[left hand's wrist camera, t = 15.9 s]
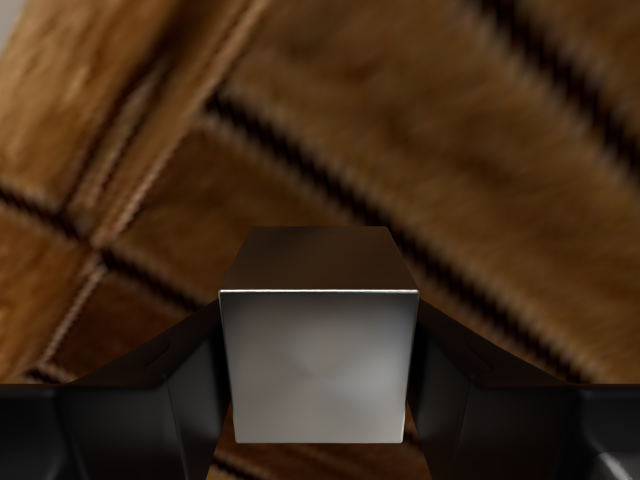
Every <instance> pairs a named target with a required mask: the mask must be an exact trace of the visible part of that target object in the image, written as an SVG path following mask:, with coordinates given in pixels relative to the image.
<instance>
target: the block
mask: <svg viewBox="0 0 640 480" xmlns="http://www.w3.org/2000/svg"><path fill="white" fill-rule="evenodd" d="M419 294H420V291H419V289H418V287H417V285H416V283H415V281H414V279H413V277H412V275H411V273H410V271H409V269H408V267H407V265H406V264H405V262H404V260H403V258H402V256H401V254H400V252H399V250H398V248H397V246H396V244H395V242H394V240H393V238H392V236H391V234H390V232H389V230H388V228H387V227H251V229H250V231H249V233H248V235H247V237H246V239H245V241H244V243H243V245H242V246H241V248H240V250H239V252H238V254H237V256H236V258H235V260H234V262H233V264H232V266H231V268H230V269H229V271H228V273H227V275H226V277H225V279H224V281H223V283H222V285H221V287H220V289H219V291H218V295H219V304H220V312H221V321H222V329H223V338H224V346H225V354H226V363H227V371H228V380H229V388H230V397H231V405H232V413H233V422H234V430H235V439H236V442H237V443H401V442H402V440H403V431H404V423H405V414H406V406H407V397H408V388H409V380H410V371H411V363H412V354H413V346H414V337H415V328H416V320H417V311H418V303H419Z"/></svg>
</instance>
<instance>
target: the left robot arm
mask: <svg viewBox="0 0 640 480" xmlns="http://www.w3.org/2000/svg"><path fill="white" fill-rule="evenodd" d="M407 400H408V404H409V407H410V410H411V413H412V416H413V420H414V423H415V426H416V429H417V432H418V436H419V439H420V442H421V445H422V449H423V452H424V455H425V458H426V461H427V465H428V468H429V471H430V474H431V478H432V480H640V384H571V383H568V382H565V381H563V380H561V379H559V378H556V377H555V376H553V375H551V374H549V373H547V372H545V371H543V370H541V369H539V368H537V367H536V366H534V365H532V364H530V363H528V362H526V361H524V360H522V359H520V358H518V357H517V356H515V355H513V354H511V353H509V352H507V351H505V350H504V349H502V348H500V347H498V346H496V345H495V344H493V343H491V342H490V341H488V340H486V339H485V338H483V337H482V336H480V335H478V334H477V333H474V332H473V331H472V330H470V329H469V328H467V327H466V326H464V325H462V324H461V323H459V322H458V321H456V320H454V319H453V318H451V317H450V316H448V315H446V314H445V313H443V312H442V311H440V310H438V309H437V308H435V307H434V306H432V305H430V304H429V303H427V302H426V301H424V300H422V299H421V298H419V303H418V311H417V320H416V328H415V337H414V346H413V354H412V363H411V371H410V380H409V388H408V397H407ZM230 401H231V397H230V388H229V380H228V371H227V363H226V354H225V346H224V338H223V329H222V321H221V312H220V304H219V298H218V299H216V300H214V301H213V302H211V303H210V304H208V305H206V306H205V307H203V308H201V309H200V310H198V311H197V312H195V313H193V314H192V315H190V316H189V317H187V318H185V319H184V320H182V321H180V322H179V323H177V324H176V325H174V326H172V327H171V328H169V329H168V330H166V331H164V333H161V334H159V335H158V336H156V337H155V338H153V339H151V340H150V341H148V342H146V343H145V344H143V345H141V346H139V347H138V348H136V349H134V350H132V351H130V352H128V353H127V354H125V355H123V356H121V357H119V358H117V359H115V360H113V361H111V362H109V363H108V364H106V365H104V366H102V367H100V368H98V369H96V370H94V371H92V372H90V373H88V374H86V375H85V376H83V377H81V378H79V379H77V380H74V381H72V382H69V383H66V384H0V480H206V477H207V474H208V471H209V468H210V464H211V461H212V458H213V455H214V452H215V448H216V445H217V442H218V439H219V436H220V433H221V429H222V426H223V423H224V420H225V417H226V414H227V410H228V407H229V404H230Z"/></svg>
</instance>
